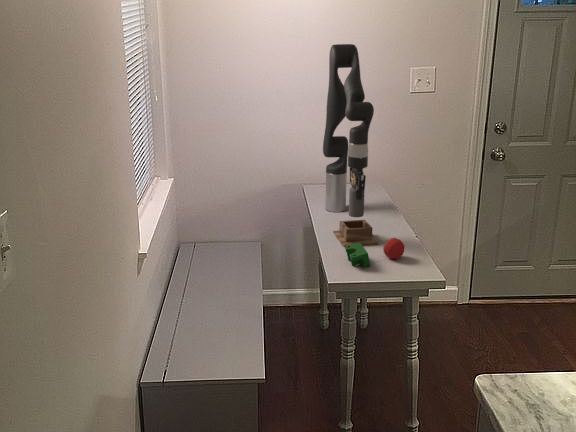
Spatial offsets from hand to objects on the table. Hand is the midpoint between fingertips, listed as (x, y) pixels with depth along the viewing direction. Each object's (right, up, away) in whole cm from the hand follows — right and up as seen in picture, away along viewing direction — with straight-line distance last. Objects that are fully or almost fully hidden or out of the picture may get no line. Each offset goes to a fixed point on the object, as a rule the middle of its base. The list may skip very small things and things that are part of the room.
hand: (356, 196), depth 259 cm
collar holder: (0, -17, +5) cm, 17 cm away
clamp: (-2, -25, -18) cm, 31 cm away
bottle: (0, -7, +3) cm, 8 cm away
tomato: (+12, -23, -14) cm, 29 cm away
